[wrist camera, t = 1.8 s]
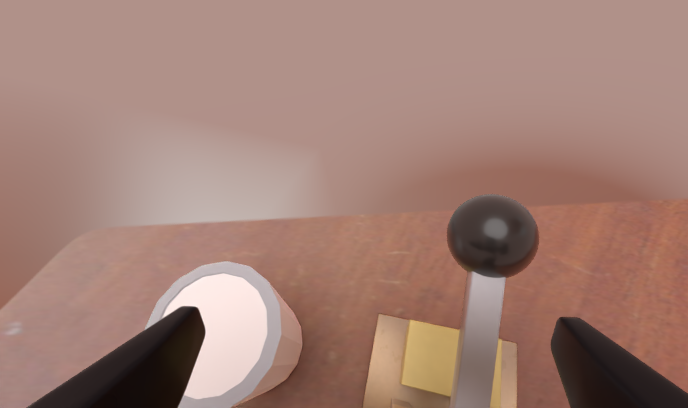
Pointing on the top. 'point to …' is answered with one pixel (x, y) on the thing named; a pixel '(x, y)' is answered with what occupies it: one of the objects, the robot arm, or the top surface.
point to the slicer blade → (485, 285)
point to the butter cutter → (410, 403)
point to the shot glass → (234, 334)
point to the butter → (437, 360)
